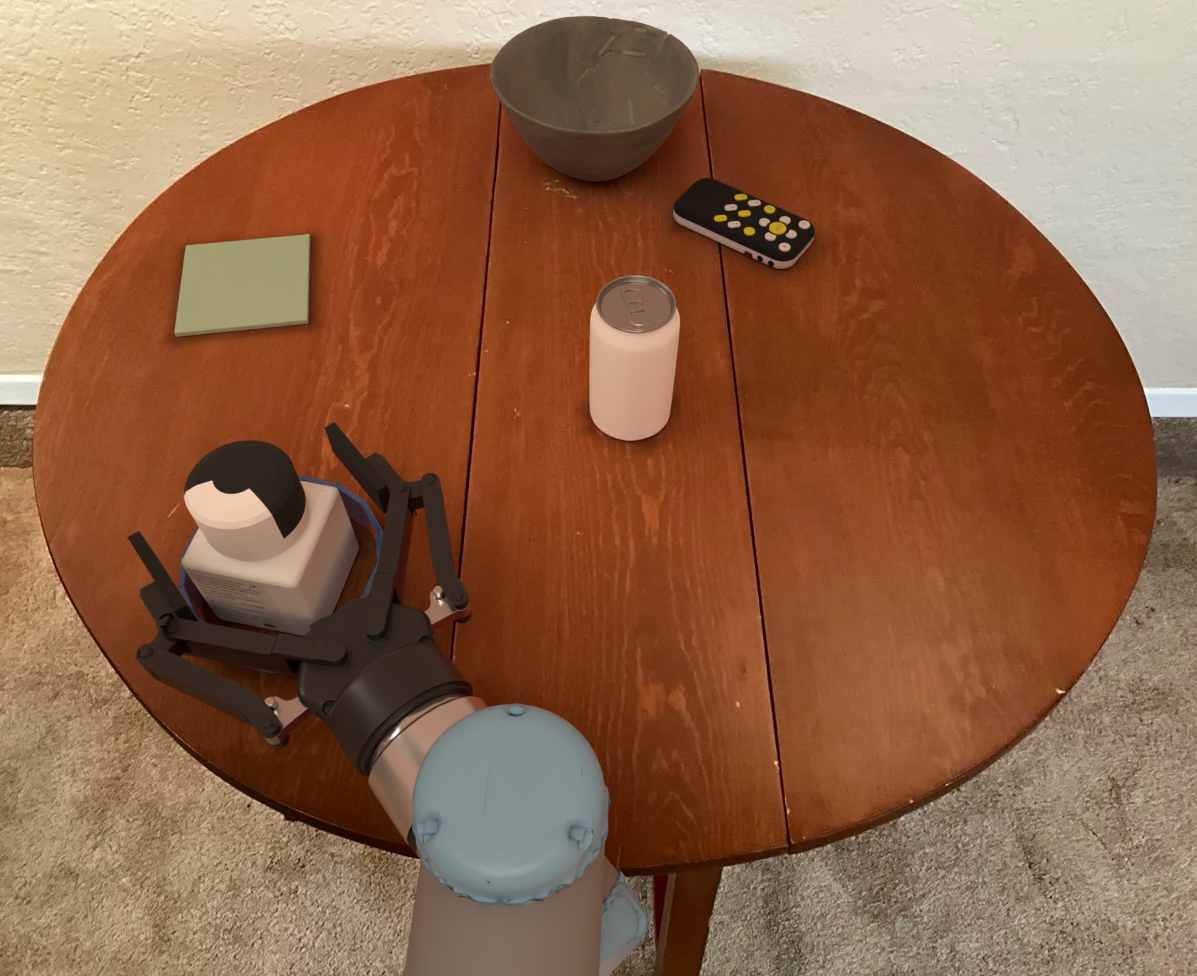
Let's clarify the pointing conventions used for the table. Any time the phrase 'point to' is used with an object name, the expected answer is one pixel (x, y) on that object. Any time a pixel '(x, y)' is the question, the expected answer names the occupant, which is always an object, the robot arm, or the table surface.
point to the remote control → (744, 223)
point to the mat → (244, 285)
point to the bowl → (594, 92)
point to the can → (633, 357)
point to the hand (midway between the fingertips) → (241, 488)
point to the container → (266, 539)
